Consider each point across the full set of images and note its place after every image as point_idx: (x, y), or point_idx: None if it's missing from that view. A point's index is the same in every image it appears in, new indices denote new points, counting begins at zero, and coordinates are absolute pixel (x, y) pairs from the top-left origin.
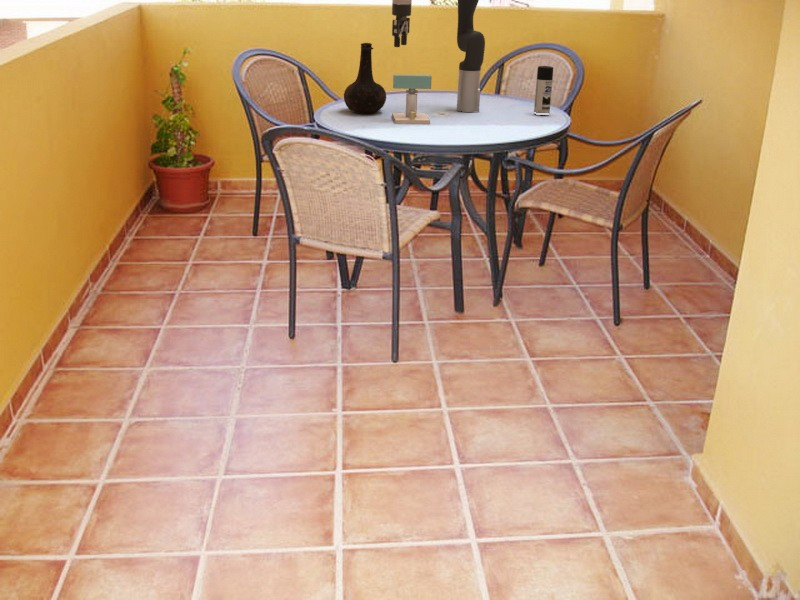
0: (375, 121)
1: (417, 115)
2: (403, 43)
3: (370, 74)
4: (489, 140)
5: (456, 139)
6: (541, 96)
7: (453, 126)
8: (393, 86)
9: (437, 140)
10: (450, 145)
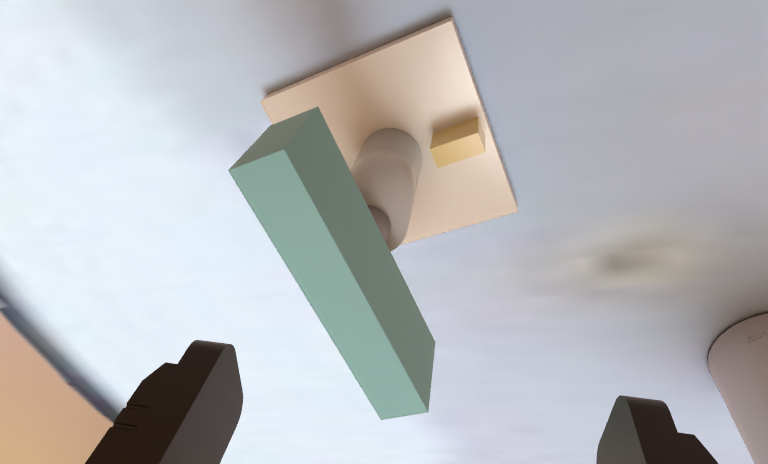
0: None
1: (438, 182)
2: (612, 451)
3: None
4: None
5: (150, 362)
6: None
7: None
8: (286, 122)
9: (92, 314)
10: (61, 354)
